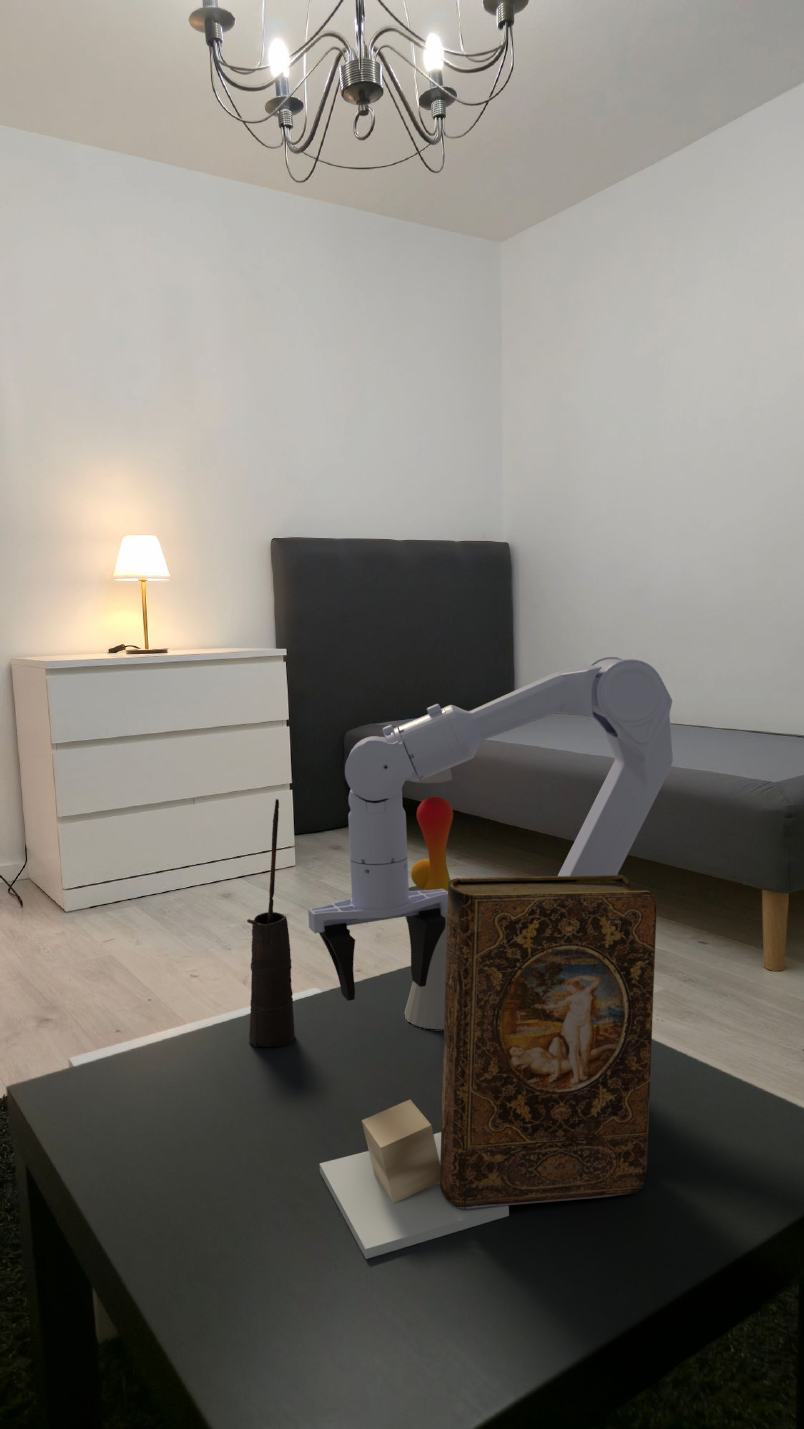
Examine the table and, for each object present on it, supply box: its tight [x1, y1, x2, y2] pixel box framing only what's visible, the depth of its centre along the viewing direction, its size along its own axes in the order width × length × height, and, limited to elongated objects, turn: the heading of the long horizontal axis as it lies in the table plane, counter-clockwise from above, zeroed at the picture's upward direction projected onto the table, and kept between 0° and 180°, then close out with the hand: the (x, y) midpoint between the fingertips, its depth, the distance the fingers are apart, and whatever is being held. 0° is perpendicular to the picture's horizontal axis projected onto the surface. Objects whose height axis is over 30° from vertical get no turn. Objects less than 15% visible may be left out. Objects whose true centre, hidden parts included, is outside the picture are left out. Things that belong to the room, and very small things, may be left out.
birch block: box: [361, 1099, 441, 1204], centre depth 75 cm, size 4×4×5 cm
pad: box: [319, 1131, 510, 1260], centre depth 75 cm, size 12×12×1 cm
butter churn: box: [246, 798, 296, 1048], centre depth 103 cm, size 9×10×28 cm
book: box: [440, 874, 657, 1209], centre depth 74 cm, size 16×6×25 cm, turn 100°
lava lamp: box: [403, 768, 454, 1029], centre depth 108 cm, size 9×9×35 cm
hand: (384, 989), depth 92 cm, fingers open, 7 cm apart
